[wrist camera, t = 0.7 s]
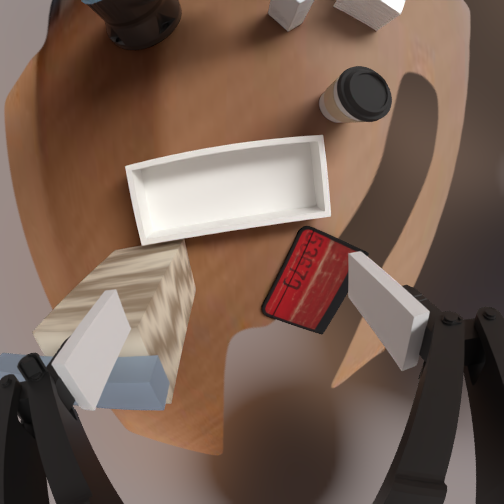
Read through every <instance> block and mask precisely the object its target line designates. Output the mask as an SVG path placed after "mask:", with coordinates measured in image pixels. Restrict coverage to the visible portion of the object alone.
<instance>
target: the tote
mask: <svg viewBox="0 0 504 504" xmlns="http://www.w3.org/2000/svg"><path fill="white" fill-rule="evenodd" d="M125 168H126V174H127V179H128V185H129V190H130V195H131V200H132V205H133V210H134V214H135V219H136V223H137V228H138V232H139V236H140V240H141V244H142V246H143V245H148V244H154V243H160V242H166V241H171V240H177V239H183V238H189V237H195V236H201V235H208V234H214V233H220V232H226V231H233V230H239V229H246V228H252V227H259V226H266V225H273V224H279V223H286V222H293V221H301V220H308V219H315V218H322V217H330V216H331V209H330V196H329V184H328V174H327V164H326V155H325V146H324V138H323V135H313V136H299V137H288V138H278V139H268V140H260V141H252V142H244V143H237V144H230V145H224V146H218V147H212V148H206V149H200V150H195V151H190V152H185V153H180V154H175V155H170V156H165V157H161V158H157V159H152V160H148V161H144V162H140V163H136V164H132V165H128V166H125Z"/></svg>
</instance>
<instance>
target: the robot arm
mask: <svg viewBox="0 0 504 504" xmlns="http://www.w3.org/2000/svg"><path fill="white" fill-rule="evenodd" d="M81 1H82V2H83V3H85V4H87V5H88V6H89V7H90V8H91V9H92V10H93V11H95V12H96V13H97V14H98V15H99V16H100V17H101V18H102V19H103V20H104V21H105V24H106V30H107V34H108V36H109V38H110V39H111V40H112V41H113V42H114V43H115V44H116V45H117V46H119V47H121V48H123V49H127V50H139V49H144V48H148V47H151V46H153V45H155V44H157V43H159V42H161V41H162V40H164V39H165V38H166V37H168V36H169V35H170V34H171V33H172V32H173V31H174V29H175V28H176V27H177V25H178V23H179V21H180V18H181V6H180V4H179V1H178V0H81ZM348 258H349V284H348V297H349V298H350V300H351V301H352V302H353V304H354V305H355V306H356V307H357V309H358V310H359V312H360V313H361V314H362V316H363V317H364V319H365V320H366V321H367V323H368V324H369V325H370V327H371V328H372V330H373V331H374V332H375V334H376V335H377V336H378V338H379V339H380V341H381V342H382V343H383V345H384V346H385V348H386V349H387V350H388V352H389V353H390V355H391V356H392V358H393V359H394V360H395V362H396V363H397V365H398V366H399V368H400V369H401V371H403V370H406V369H409V368H411V367H414V366H416V365H417V362H418V359H419V355H420V356H421V357H422V358H423V359H424V363H423V366H422V369H421V372H420V375H419V383H418V387H417V391H416V395H415V398H414V402H413V405H412V408H411V412H410V415H409V418H408V421H407V424H406V427H405V430H404V433H403V436H402V439H401V441H400V444H399V447H398V449H397V452H396V455H395V457H394V459H393V462H392V464H391V466H390V469H389V471H388V473H387V475H386V478H385V480H384V482H383V484H382V486H381V488H380V490H379V492H378V494H377V496H376V498H375V500H374V502H373V504H443V503H444V500H445V497H446V493H447V485H446V484H445V483H444V480H445V475H446V472H447V468H448V464H449V461H450V457H451V452H452V448H453V444H454V439H455V434H456V429H457V423H458V417H459V410H460V403H461V394H462V384H463V372H464V377H465V381H466V386H467V391H468V397H469V403H470V409H471V415H472V423H473V431H474V442H475V455H476V504H504V318H503V316H502V315H501V313H500V312H499V311H497V310H496V309H495V308H492V307H482V308H480V309H479V310H478V311H477V314H476V318H475V319H466V320H463V318H462V317H461V316H460V315H459V314H457V313H454V312H451V311H445V312H441V311H440V310H439V309H438V308H437V307H436V306H435V305H434V304H432V303H431V302H430V301H429V300H428V299H426V298H425V297H424V296H423V295H422V294H421V293H420V292H419V291H418V290H416V289H415V288H413V287H410V286H408V285H404V286H401V285H400V284H399V283H398V282H397V281H395V280H394V279H393V278H392V277H391V276H390V275H388V274H387V273H386V272H385V271H384V270H383V269H382V268H380V267H379V266H378V265H377V264H376V263H374V262H373V261H372V260H371V259H370V258H368V257H367V256H366V255H365V254H364V253H362V252H361V251H359V252H353V253H348ZM130 330H131V327H130V325H129V322H128V320H127V317H126V315H125V312H124V310H123V307H122V304H121V302H120V299H119V296H118V293H117V290H116V289H113V290H106V291H104V293H103V294H102V295H101V296H100V298H99V299H98V300H97V302H96V303H95V304H94V305H93V307H92V308H91V309H90V311H89V312H88V313H87V315H86V316H85V317H84V318H83V320H82V321H81V322H80V324H79V325H78V327H77V328H76V329H75V331H74V332H73V333H72V335H71V336H69V337H68V338H67V339H66V340H65V341H64V342H63V343H62V345H61V346H60V348H59V349H58V351H57V353H55V355H54V356H53V358H52V359H51V361H50V362H49V364H48V365H47V367H46V366H45V364H44V363H43V361H42V359H41V358H40V356H39V355H38V354H37V353H30V354H28V355H26V356H24V357H23V358H22V359H21V360H20V361H19V362H18V365H17V368H18V369H19V371H20V373H21V374H22V376H23V377H24V379H25V380H26V381H22V382H19V381H18V379H17V378H16V376H15V375H14V374H8V375H5V376H3V377H2V378H1V380H0V504H49V497H48V489H47V480H48V483H49V485H50V488H51V491H52V494H53V496H54V499H55V501H56V504H124V503H123V502H122V500H121V498H120V497H119V495H118V494H117V492H116V490H115V489H114V487H113V486H112V484H111V482H110V480H109V479H108V477H107V475H106V473H105V472H104V470H103V468H102V466H101V464H100V462H99V460H98V458H97V456H96V454H95V453H94V450H93V449H92V446H91V444H90V442H89V440H88V438H87V435H86V433H85V431H84V429H83V426H82V424H81V422H80V419H79V417H78V414H77V412H76V410H75V409H74V407H73V404H74V402H75V401H76V402H77V404H78V405H79V406H80V408H81V409H85V410H95V408H96V406H97V403H98V401H99V399H100V396H101V394H102V391H103V389H104V387H105V384H106V382H107V380H108V378H109V375H110V373H111V371H112V369H113V366H114V364H115V362H116V360H117V358H118V356H119V353H120V351H121V349H122V347H123V345H124V343H125V341H126V339H127V337H128V334H129V332H130ZM17 415H18V416H19V418H20V419H21V423H20V422H19V420H18V417H17ZM46 477H47V479H46Z"/></svg>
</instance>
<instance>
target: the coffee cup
mask: <svg viewBox="0 0 504 504" xmlns="http://www.w3.org/2000/svg"><path fill="white" fill-rule="evenodd" d="M391 103H392V97H391V92H390V89H389V87H388V85H387V83H386V81H385V80H384V79H383V78H382V77H381V76H380V75H379V74H378V73H376V72H375V71H373V70H372V69H369V68H367V67H362V66H356V67H352V68H349V69H347V70H345V71H344V72H343V73H342V74H341V75H340V76H339V77H338V78H337V79H336V80H335V81H334V82H333V83H332V84H331V85H330V86H329V87H328V88H327V89H326V91H325V92H324V93H323V94H322V95H321V97H320V99H319V107H320V110H321V112H322V114H323V115H324V116H325V117H326V118H327V119H328V120H330V121H332V122H337V123H340V122H345V123H351V122H373V121H377V120H379V119H381V118H383V117H384V116H385V115H386V114H387V113H388V112H389V110H390V108H391Z"/></svg>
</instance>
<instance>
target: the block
mask: <svg viewBox="0 0 504 504" xmlns="http://www.w3.org/2000/svg"><path fill="white" fill-rule="evenodd" d="M24 356H26V355H19V354H9V353H2V354H1V355H0V380H1V378H2V377H3V376H5V375H8V374H14V375H15V376H16V378H17V379H18V381H19V382H22V381H26V380H25V379H24V377H23V376H22V374H21V373H20V371H19V369H18V368H17V365H18V362H19V361H20V360H21V359H22V358H23V357H24ZM40 358H41V359H42V361H43V363H44V364H45V366H46V367H47V365H48V364H49V362H50V361H51V359H52V358H53V357H52V356H40ZM169 385H170V382H169V380H168V378H167V375H166V373H165V371H164V368H163V366H162V364H161V361H160V359H159V357H158V355H153V356H133V357H118V358H117V360H116V362H115V364H114V366H113V369H112V371H111V373H110V375H109V378H108V380H107V382H106V384H105V387H104V389H103V391H102V394H101V396H100V399H99V401H98V403H97V406H96V407H97V408H109V409H126V410H164V408H165V403H166V399H167V394H168V389H169ZM73 405H78V404H77V402H76V401H75V402H74V404H73ZM78 406H79V405H78Z"/></svg>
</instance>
